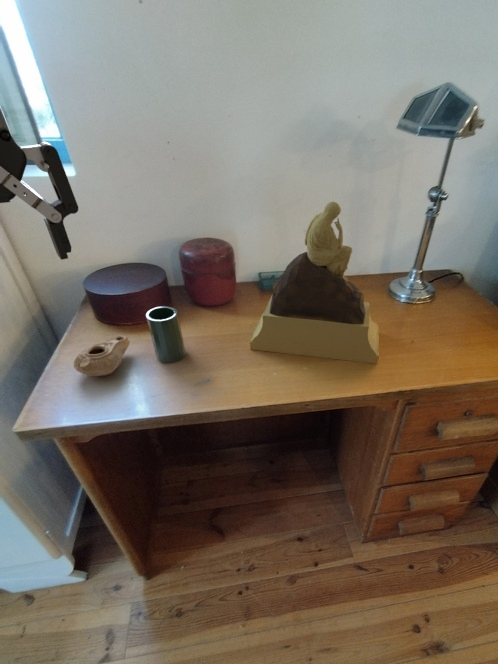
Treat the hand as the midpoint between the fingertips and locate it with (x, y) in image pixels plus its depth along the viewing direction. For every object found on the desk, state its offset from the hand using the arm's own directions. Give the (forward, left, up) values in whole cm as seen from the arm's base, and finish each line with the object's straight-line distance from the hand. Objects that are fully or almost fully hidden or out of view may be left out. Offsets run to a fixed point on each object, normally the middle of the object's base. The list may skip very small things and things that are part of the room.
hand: (18, 265), depth 40 cm
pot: (+14, +26, -32) cm, 43 cm away
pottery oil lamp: (+2, +26, -32) cm, 41 cm away
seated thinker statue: (+46, +20, -32) cm, 59 cm away
